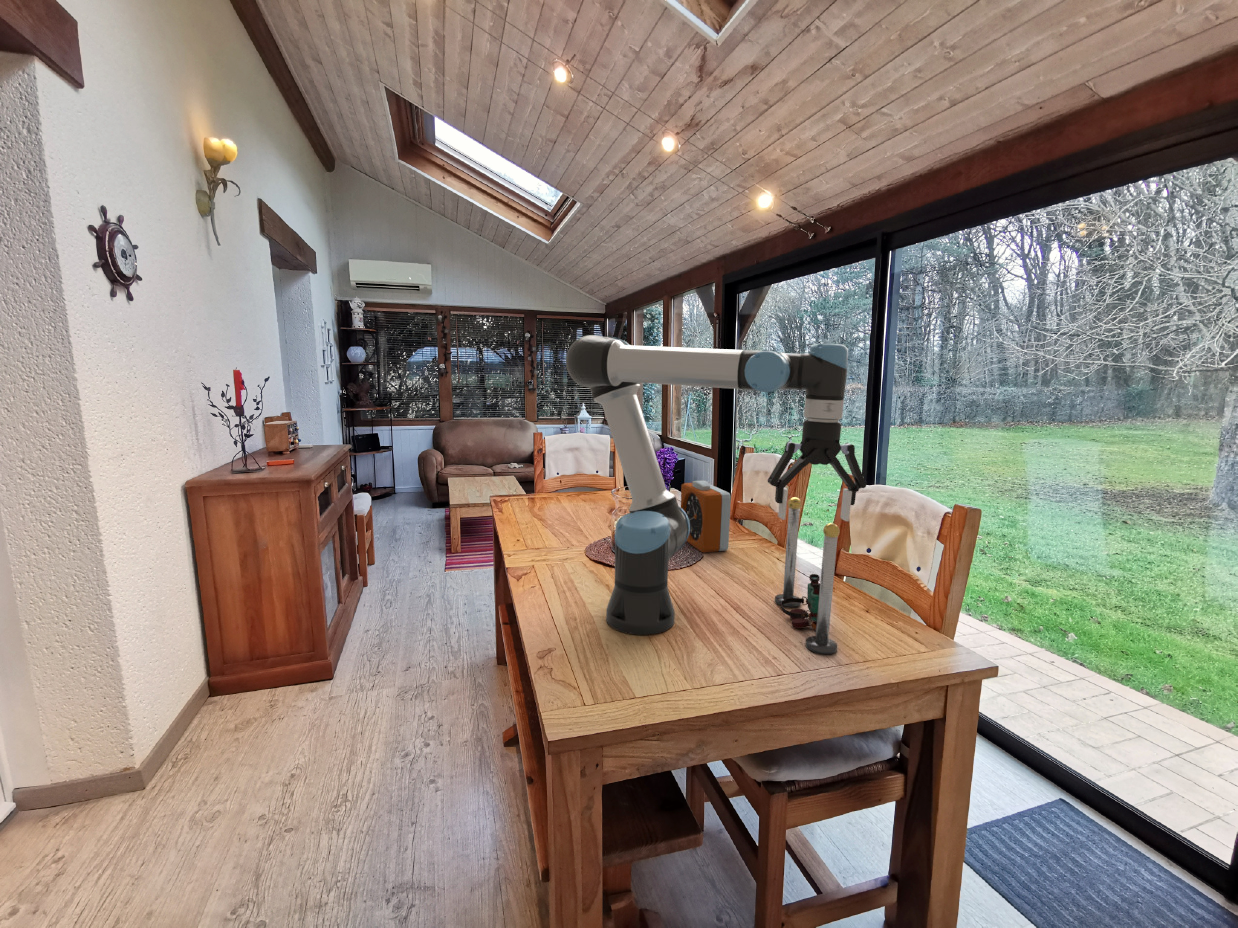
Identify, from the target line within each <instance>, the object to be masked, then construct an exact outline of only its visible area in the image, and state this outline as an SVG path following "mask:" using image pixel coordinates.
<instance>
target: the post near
mask: <svg viewBox="0 0 1238 928" xmlns="http://www.w3.org/2000/svg"><path fill="white" fill-rule="evenodd" d="M839 527H840V526H838V525H837V524H836V523H833V522H828V523H826V524H825V525H824V527H823V528H822V529H823V530H822V531H823V535H824V537H823V547H822V548H823V549H822V560H821V572H820V580H819V582H820V583H819V584H820V592H819V603H818V615H817V626H816V629H815V635H813V636H808V637H807V638H806V639H805V643H804V645H805V648H806V649H807V650H808V651H810V652H812V653H813V654H816V655H821V656H832V655H834V654H836V653H837V652H838V643H837V642H835V641H834V640H833V639H831V638H829V634H830V623H831V611H832V604H833V603H832V601H833V590H834V578H835V569H836V568H835V567H836V559H837V557H836V556H837V545H838V537H839V535H840V528H839Z"/></svg>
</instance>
